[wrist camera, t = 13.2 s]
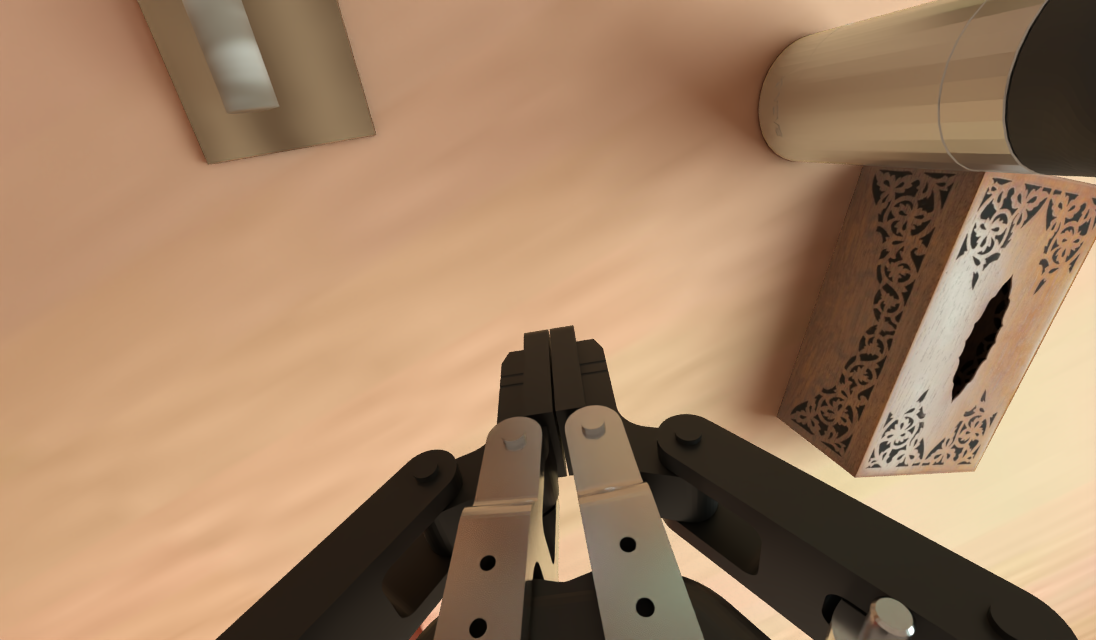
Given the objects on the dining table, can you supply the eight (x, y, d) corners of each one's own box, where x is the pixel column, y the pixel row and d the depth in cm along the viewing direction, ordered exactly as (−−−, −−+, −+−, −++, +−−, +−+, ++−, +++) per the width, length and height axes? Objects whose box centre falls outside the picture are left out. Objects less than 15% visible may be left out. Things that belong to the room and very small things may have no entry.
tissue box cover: (863, 157, 41) (989, 162, 32) (980, 180, 45) (1121, 190, 36) (775, 415, 49) (854, 477, 40) (880, 414, 53) (974, 471, 44)
